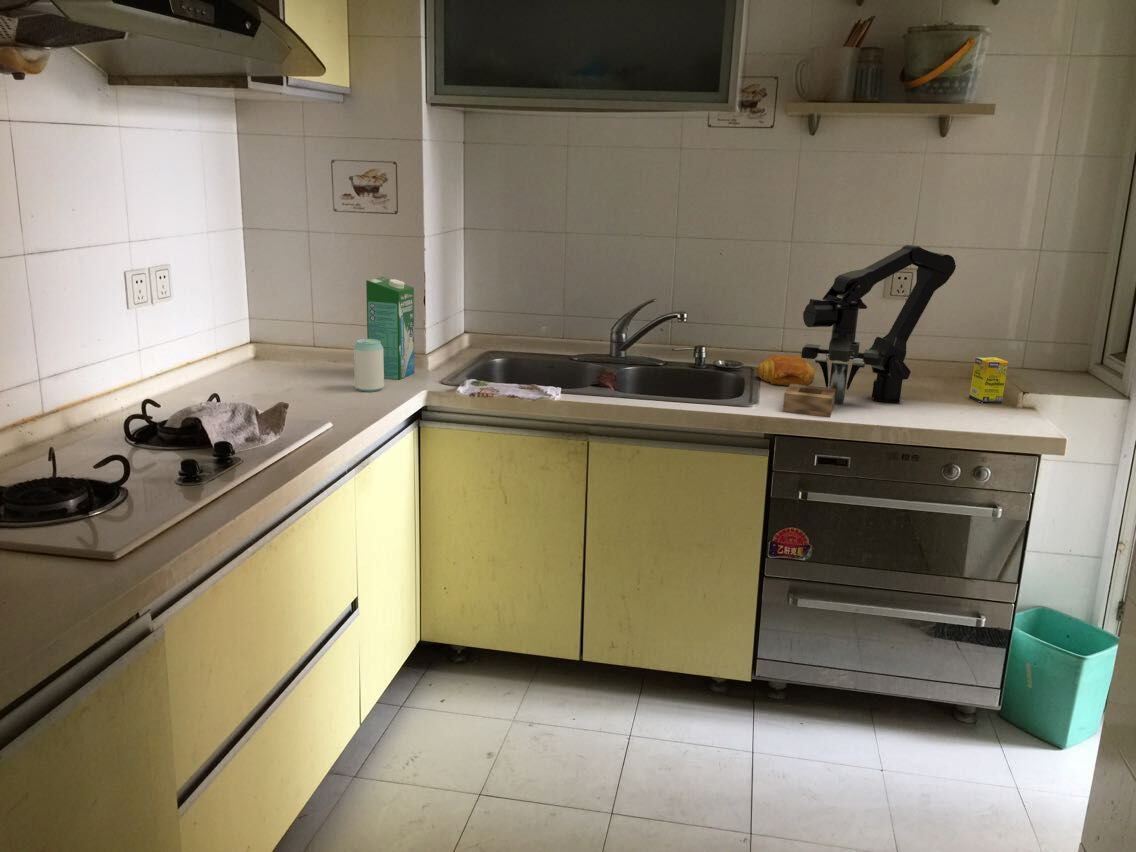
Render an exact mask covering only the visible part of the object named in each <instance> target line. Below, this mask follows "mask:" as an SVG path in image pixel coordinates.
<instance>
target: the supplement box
mask: <svg viewBox="0 0 1136 852" xmlns="http://www.w3.org/2000/svg"><path fill="white" fill-rule="evenodd" d="M1009 363H1010V362H1009V361H1007V360H1004V359H1002V358H1000V357H999V358H998V357H986V356H985V357H979V356H976V357H975V360H974V365H973V370H972V377H971V383H970V389H969V395H968V398H969V397H971V398H973V399H972V400H974V399H975V400H974V401H976V400H977V401H976V402H978V401H980V402H998V403H997V404H1001V403H1000V402H1003V396H1004V391H1005V386H1006V379H1007V374H1008V367H1009ZM971 398H970V399H971ZM980 402H979V403H980Z"/></svg>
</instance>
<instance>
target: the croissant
mask: <svg viewBox="0 0 1136 852" xmlns="http://www.w3.org/2000/svg"><path fill="white" fill-rule="evenodd" d="M756 373H757V374H758V375H759V376H760V378H761V379H760V378H759V379H760V380H762V381H764V382H767V383H769V382H770V383H771V384H770V383H769V384H770V385H777V386H785V387H789V385H790V384H798V385H807V386H811V383H812V381H813V380H814V379H815V374H816V371H815V369H814V367H813V366H811V364H810V363H808V362H807V361H806V360H805V358H801V357H800V356H796V355H776V354H775V355H770V356H769V357H768V358H766V359H765V360H763V362H761V363H759V364H758V366H757V367H756ZM758 375H757V376H758ZM759 376H758V377H759Z"/></svg>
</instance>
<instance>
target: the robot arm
mask: <svg viewBox="0 0 1136 852" xmlns="http://www.w3.org/2000/svg"><path fill="white" fill-rule="evenodd" d="M911 265H912V266H914V267H917V269H916V271H915V272H916V273H915V274H916V277H915V278H916V279H915V280H916V282H915V284H914V286H913V288H912V290H911V292H910V294H909V295H908V297H907V299H906V300H905V302H904V305H903V307H902V308H901V309H900V312H899V313H898V315H897V317H896V319H895V320H894V323H893V325H892V326H891V328H890V330H889V331H888V332H887V334H886V335H885V336H883V337H880V336H876V338H875V339H874V341H873V344H872V345H871V347H869V349H864V352H860V346H861V345H860V343H861V342H860V341H856V336H857V328H858V327H857V326H858V318H859V311H860V310H867V309H868V306H867V305H866V304H865V303H864V301H863V299H862V298H863V297H865V295H867V294H868V293H870V292H871V291H872V288H873V287H874V286H875V285H876V284H878V283H879V282H882V281H883V280H885V279H887V278H889V277H892V275H894V274H897V273H899V272H900V271H902V270H903V269H904V270H905V269H906V268H908V267H910V266H911ZM956 268H957V264H956V261H955V259H954V257H953V256H952V255H950V254H946V253H941V252H935V251H929V250H927V249H925V248H922V247H921V246H919V245H912V244H905V245H903V246H902V247H901V248H899V250H896V251H894V252H892V253H891V254H888V255H887V256H884V257H883V258H881V259H880V260H877V261H875V262H874V263H872V264H869V265H868V266H866V267H864V268H861V269H857V270H851V271H848V272H844V273H841V274H839V275H837V276H836V277H835V278H834V282H833V284H832V286H831V287H830V288H829V290H828V291H827V292H826V293H825V294H824V296H823V297H822V299H817V298H810V299H809V302H808V303H807V304H806V306H805V308H804V311H803V313H802V317H803V323H804V325H805V326H806V327H807V328H831V327H832V328H831V336H830V341H829V344H828V348H821V345H820V344H813V343H806V344H804V345H803V347H802V349H801V355H800V356H801V357H800V358H803V359H806V360H807V359H809V360H814V362H815V363H816V364H819V366H820V368H821V370H822V374H823V379H824V383H825V388H829V383H830V361H831V362H834V361H840V362H846V363H849V362H850V360H853V361H852V364H851V368H850V372H849V375H848V378H847V382H846V390H848V391H849V389H850V387H851V384H852V382H853V380H854V377H855V375H856V374H857V373H858V371H859V370H860V368H865V367H866V365H867V366H871V371H872V373H874V374H876V378H875V379H874V380H873V383H872V385H873V386H872V393H871V397H872V398H873V399H872V400H873V401H877V402H884V403H885V402H886V403H887V402H888V403H895V404H901V400H902V398H901V394H902V386H903V382H904V380H908V379H909V378H910V375H911V369H910V368H909V367H908V366H907V365H906V363H905V362H904V361H905V358H906V356H907V342H908V340H909V339H910V337H911V335H912V333H913V331H914V330H915V328H916V326H917V324H918V323H919V320H920V319H921V316H922V315H923V314H924V311H925V309H926V307H927V306H928V304H929V303H930V300H931V299H932V297H933V296H934V293H935V292H936V291H937V290H938V289H940V288H941V287H942V286H944V285H945V284H946V283H948V281H949V279H950V278H951V277H952V276H953V274H954V273H955V271H956Z"/></svg>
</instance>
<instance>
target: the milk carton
mask: <svg viewBox="0 0 1136 852" xmlns="http://www.w3.org/2000/svg"><path fill="white" fill-rule="evenodd" d="M365 284H366V285H365V288H366V290H365V291H366V331H367V332H366V333H367V338H366V339H376V340H380V341H381V342H380V343H381V345H382V346H383V357H384V379H388V380H389V379H391V380H397V381H398V380H400V381H401V380H402V379H404V378H407V377H408V376H410V375H413V374H415V287H413V286H410V285H408V284H406V283H405V281H402V280H399V279H394V278H388V277H385V276H379V277H375V278H371V279H367V280H366V281H365Z"/></svg>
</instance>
